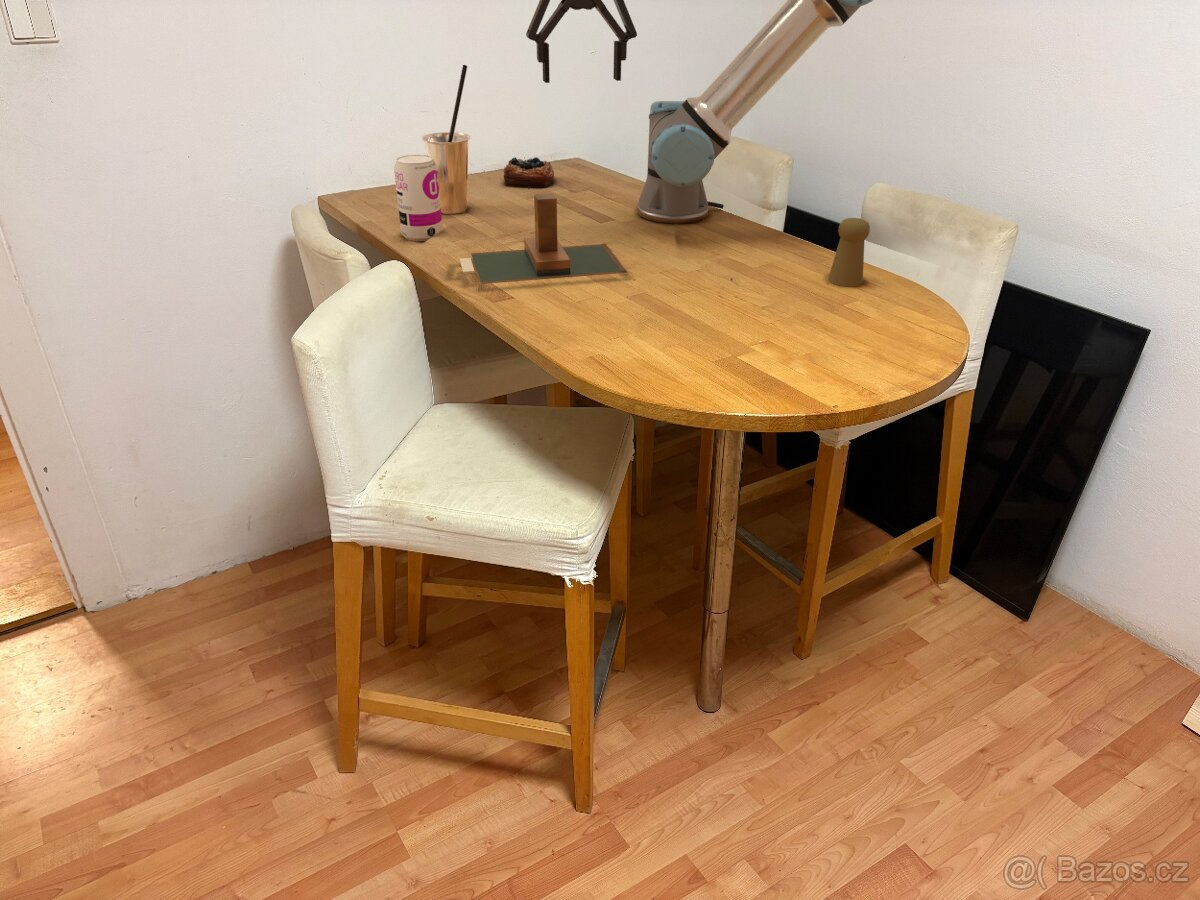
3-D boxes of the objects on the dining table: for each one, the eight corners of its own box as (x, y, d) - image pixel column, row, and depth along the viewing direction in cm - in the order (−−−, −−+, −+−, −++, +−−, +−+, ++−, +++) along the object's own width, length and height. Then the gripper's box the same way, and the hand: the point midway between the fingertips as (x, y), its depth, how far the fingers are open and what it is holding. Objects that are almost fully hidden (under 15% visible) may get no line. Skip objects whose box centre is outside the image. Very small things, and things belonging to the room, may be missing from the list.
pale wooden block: (459, 262, 158) (459, 258, 158) (470, 261, 158) (470, 257, 158) (463, 276, 152) (463, 271, 152) (474, 275, 153) (474, 270, 152)
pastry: (509, 175, 214) (508, 150, 211) (557, 176, 213) (556, 152, 210) (500, 186, 205) (499, 161, 202) (550, 188, 204) (550, 163, 201)
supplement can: (450, 232, 175) (444, 156, 167) (427, 244, 169) (419, 166, 161) (417, 227, 178) (409, 152, 170) (393, 238, 172) (384, 161, 164)
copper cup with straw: (476, 218, 183) (466, 65, 168) (424, 217, 184) (409, 64, 168) (483, 203, 193) (474, 57, 177) (433, 202, 193) (420, 56, 177)
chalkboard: (605, 249, 167) (605, 243, 167) (627, 278, 154) (627, 272, 153) (471, 259, 162) (470, 253, 161) (482, 290, 149) (481, 283, 148)
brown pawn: (864, 276, 156) (875, 216, 150) (861, 288, 151) (872, 226, 145) (830, 272, 158) (839, 212, 152) (826, 284, 153) (836, 222, 147)
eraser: (556, 249, 163) (554, 185, 157) (570, 273, 153) (569, 205, 146) (524, 252, 162) (522, 187, 156) (537, 276, 151) (535, 208, 145)
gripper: (644, -51, 156) (640, 75, 167) (507, -52, 151) (512, 79, 162) (656, -50, 150) (651, 82, 161) (514, -50, 145) (519, 85, 156)
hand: (582, 80), depth 161 cm, fingers open, 13 cm apart
